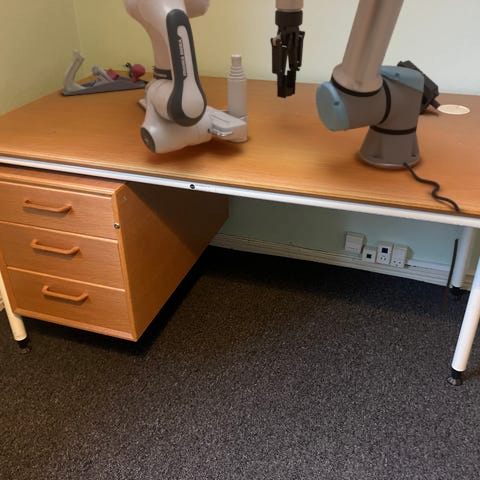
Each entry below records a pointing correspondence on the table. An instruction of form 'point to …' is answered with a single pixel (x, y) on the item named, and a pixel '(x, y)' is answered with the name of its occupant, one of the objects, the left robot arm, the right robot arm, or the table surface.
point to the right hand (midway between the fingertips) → (286, 95)
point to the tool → (428, 88)
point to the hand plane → (105, 80)
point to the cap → (289, 91)
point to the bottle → (237, 92)
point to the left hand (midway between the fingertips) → (240, 115)
